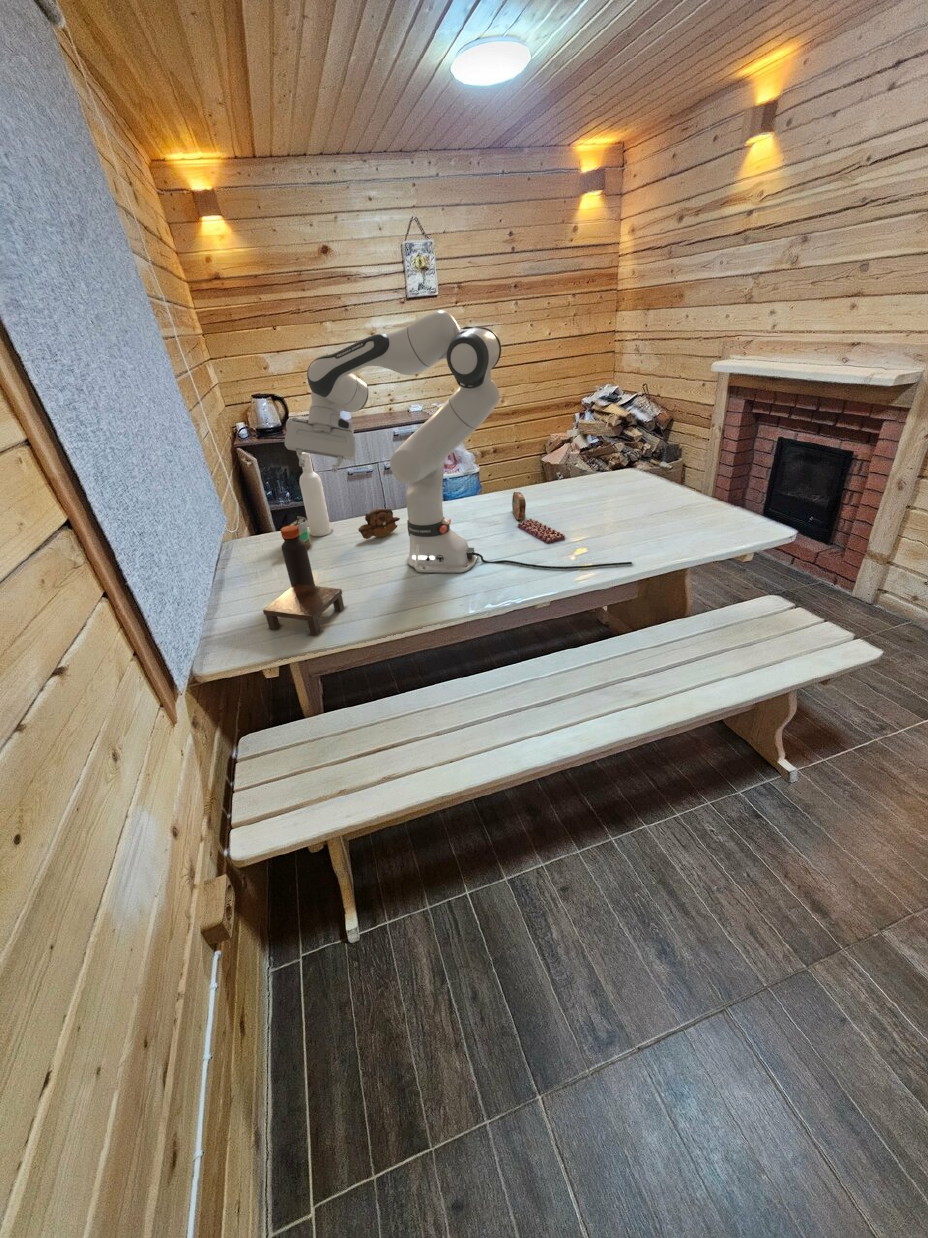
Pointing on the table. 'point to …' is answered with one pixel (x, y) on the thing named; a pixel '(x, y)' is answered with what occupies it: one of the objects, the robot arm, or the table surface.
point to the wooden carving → (378, 523)
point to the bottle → (314, 499)
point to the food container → (302, 529)
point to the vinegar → (296, 557)
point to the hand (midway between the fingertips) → (318, 469)
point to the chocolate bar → (541, 531)
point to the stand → (304, 605)
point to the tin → (518, 505)
